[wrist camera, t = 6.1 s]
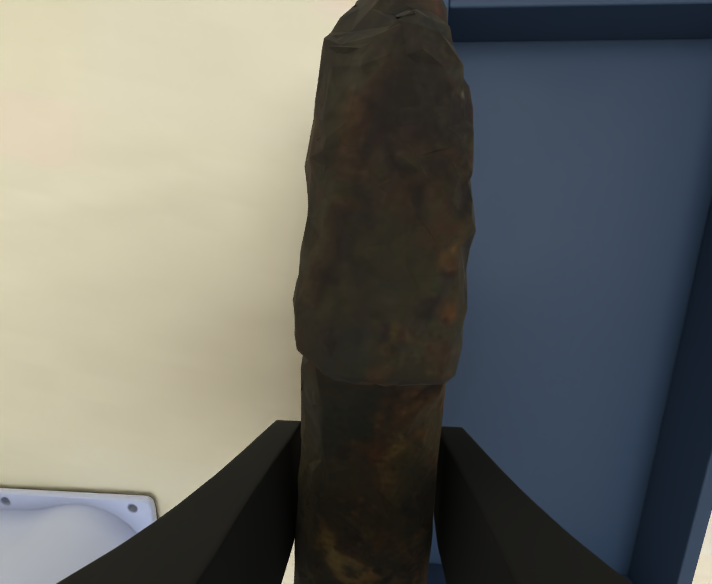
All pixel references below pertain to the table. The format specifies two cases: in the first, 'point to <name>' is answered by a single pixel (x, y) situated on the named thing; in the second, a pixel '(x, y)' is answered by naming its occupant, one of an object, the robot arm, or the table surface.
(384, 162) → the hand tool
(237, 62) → the table surface
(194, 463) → the table surface
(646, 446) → the desk tray
